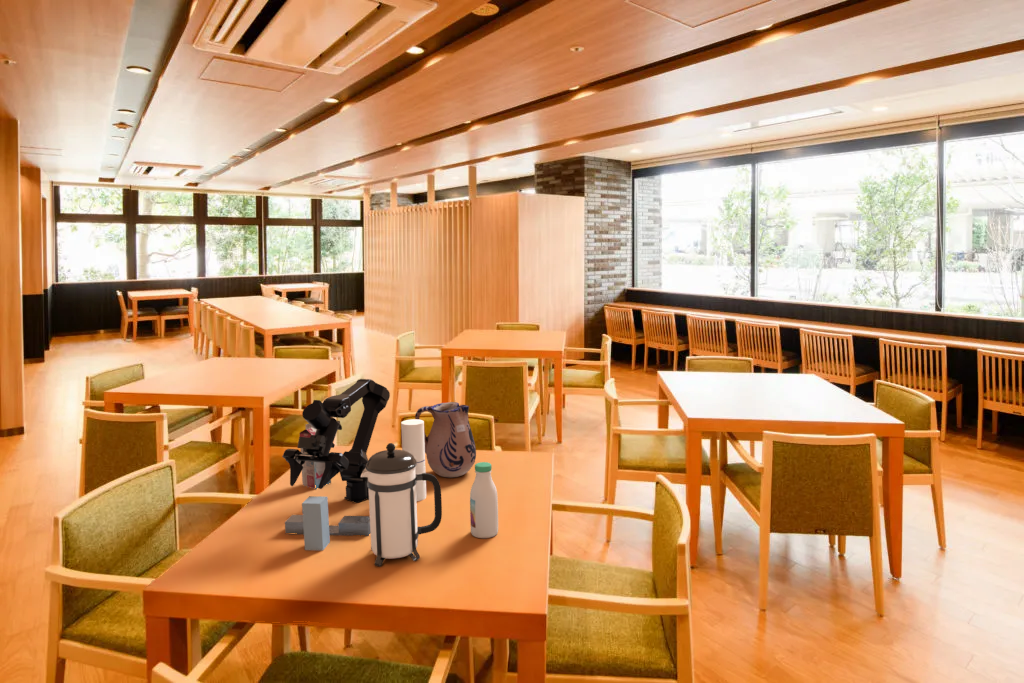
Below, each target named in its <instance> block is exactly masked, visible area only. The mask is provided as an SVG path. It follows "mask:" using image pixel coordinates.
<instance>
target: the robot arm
mask: <svg viewBox="0 0 1024 683" xmlns="http://www.w3.org/2000/svg"><path fill="white" fill-rule="evenodd" d="M390 397H391V393H390V390H388V388H387V387H386V386H385V385H384V386H383V385H382V384H379V383H377V382H376V381H374V380H373V379H370V378H360V379H357V381H356V382H355V383H353V385H350V387H349V388H347V389H346V390H344V391H343V392H341V393H340V394H336V395H331V396H328V397H326V398H325V399H324V400H322V401H323V402H322V401H321V400H320V399H314V400H313V402H312V403H310V404H308V405H306V407H305V408H304V409H303V410H302V413H301V414H302V418H303V419H304V420H305V421H306V422H307V424H310V425H311V426H312V427H313V428H314V429H317V430H316V432H315V435H311V436H310V438H309V437H300V436H299V437H298V443H297V448H287V449H285V450H284V451H283V454H282V458H283V459H284V460H285V461H286V462H287V463H288V465H289V472H290V473H289V485H290V486H291V487H293V486H295V484H296V483H297V481H298V478H299V476H300V475H301V474H302V469H303V466H302V465H303V464H304V463H305V461H310V462H321V463H325V470H324V473H323V475H322V478H321V481H320V484H319V488H318V489H319V490H322V489H324V487H325V485H326V484H327V483H328V482H329V481H330V480H331V481H332V479H333V478H334V477H335V476H336V475H338V474H339V475H340V477H341V481H342V482H345V483H346V486H345V496H344V499H345V500H347V501H350V502H352V503H355V504H358V503H361V502H363V501H365V500H369V489H368V487H367V478H368V477H361V474H362V472H363V470H364V469H365V468H366V463H367V462H368V460H369V458H368V455H367V452H368V449H369V446H370V442H371V439H372V435H373V434H374V431H375V430H374V429H375V426H376V422H377V419H378V416H379V414H380V413H381V412H382V411H383V410H384V409H385V408H386V406H387V404H388V401H389V400H390ZM359 400H361V402H362V406H363V411H362V414H361V418H360V421H359V425H358V428H357V431H356V434H355V436H354V439H353V443H352V447H351V449H350V450H349V451H346V450H345V451H344V452H343V453H342V452H337V451H336V452H332V451H331V449H332V448H333V449H334V448H335V446H336V445H335V444H334V441H335V438H336V436H337V433H338V430H339V431H342V430H343V426H342V424H341V421H340V420H338V419H345V418H346V417H347V416H348V415H349V414H350V412H351V411H352V406H353V405H354V404H355V403H357V402H358V401H359ZM336 418H337V419H336ZM300 448H304V451H305V452H307V454H303V453H301V450H300ZM326 486H327V485H326Z"/></svg>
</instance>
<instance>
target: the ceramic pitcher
mask: <svg viewBox="0 0 1024 683" xmlns="http://www.w3.org/2000/svg"><path fill="white" fill-rule="evenodd" d="M469 410H470V406H469V405H467V404H461V405H460V403H459V402H455V401H450V402H441V403H437V404H434V405H425V406H422V407H420V408H418V409H417V411H416V413H415V414H414V417H415V418H414V419H419V420H421V419H420V416H421V414H422V413H426V412H428V413H429V414H431V415H432V418H433V422H432V425H431V428H430V431H429V433H428V435H426V433H425V431H424V442H425V457H426V461H427V464H428V466H429V468H430V469H431V470H432V471H433V472H434V473H435V474H437V475H438V476H439V477H443V478H450V479H451V478H459V477H461V476H463V475H466V474H467V473H468V472H469V471H470V470H471V469H472V468H473V466H474V465H475V462H476V458H477V450H476V449H477V448H476V443H475V440H474V436H473V432H472V428H471V425H470V421H469Z"/></svg>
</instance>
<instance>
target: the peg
mask: <svg viewBox="0 0 1024 683" xmlns="http://www.w3.org/2000/svg"><path fill="white" fill-rule="evenodd" d="M328 499H329V498H328V496H315V495H314V496H312V495H311V496H308V497H307V498H306V499H305V500H303V502H301V506H302V507H301V508H302V509H301V510H302V515H303V528H304V534H303V541H304V542H303V543H304V550H305V551H324V550H325V549H326V548H327V546H328V545H329V544H330V542H331V540H330V539H331V538H330V536H331V535H329V525H330V520H329V519H330V517H329V500H328Z"/></svg>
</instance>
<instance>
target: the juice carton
mask: <svg viewBox="0 0 1024 683" xmlns="http://www.w3.org/2000/svg"><path fill="white" fill-rule="evenodd" d="M316 430H317V429H314V428H313V427H312V426H311V425H310V424H309V423H307V424H305V429H304V430H301V431H300V432H299V437H309V438H310V436H311V435H315V432H316ZM299 451H300V452H301V453H303V454H307V452H305V451H304V448H299ZM302 466H303V469H302V471H301V482H302V483H301V484H302V486H303V485H304V486H303V487H305V486H307V487H306V488H309V487H311V488H310V489H313V488H315V485H316V488H315V489H314V490H318V489H319V484H320V481H321V478H322V475H323V473H324V470H325V463H321V462H310V461H305V463H304V464H303V465H302ZM329 483H331V484H332V479H331V480H330V481H329V482H328V483H327V484H328V485H330V484H329ZM317 488H318V489H317Z"/></svg>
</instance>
